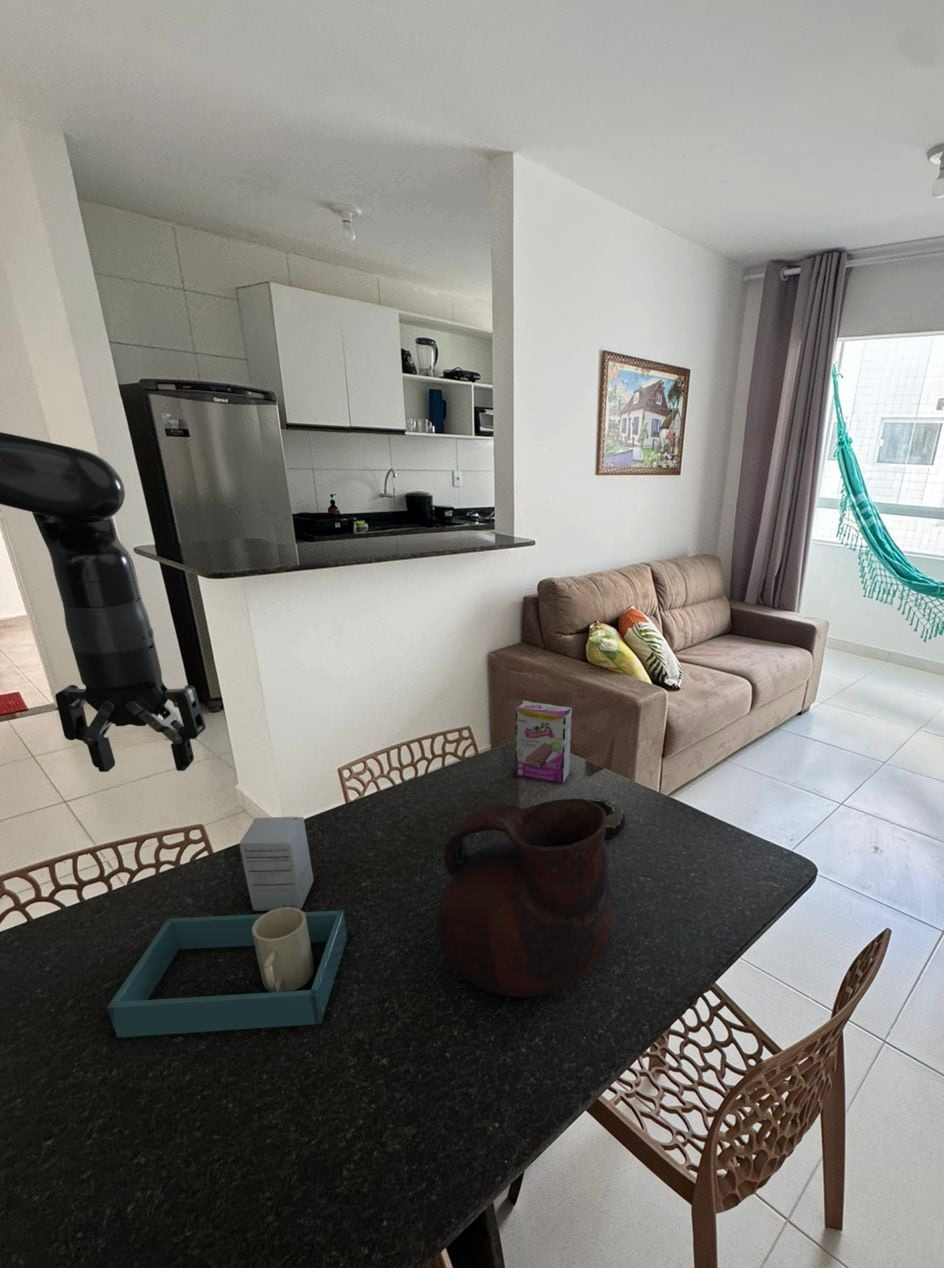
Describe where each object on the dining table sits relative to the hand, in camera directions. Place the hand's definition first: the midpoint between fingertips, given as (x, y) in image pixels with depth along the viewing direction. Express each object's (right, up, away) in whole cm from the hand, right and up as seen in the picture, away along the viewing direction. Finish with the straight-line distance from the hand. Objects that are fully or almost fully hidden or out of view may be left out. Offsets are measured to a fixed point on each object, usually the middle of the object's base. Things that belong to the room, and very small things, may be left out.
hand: (146, 768), depth 80 cm
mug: (+13, -30, +9) cm, 33 cm away
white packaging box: (+5, -22, +25) cm, 34 cm away
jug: (+44, -29, +16) cm, 55 cm away
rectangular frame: (+7, -29, +9) cm, 32 cm away
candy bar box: (+42, -7, +65) cm, 78 cm away
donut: (+54, -15, +48) cm, 74 cm away
